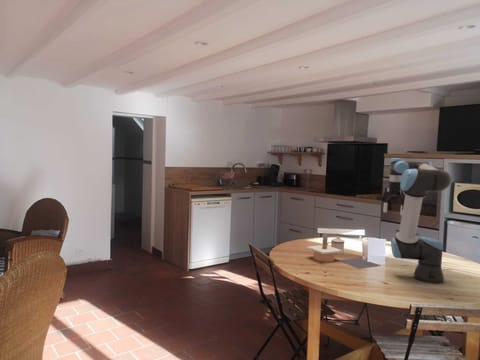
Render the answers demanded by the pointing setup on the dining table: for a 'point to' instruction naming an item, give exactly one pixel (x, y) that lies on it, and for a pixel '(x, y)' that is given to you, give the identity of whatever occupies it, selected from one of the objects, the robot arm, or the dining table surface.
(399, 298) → the dining table surface
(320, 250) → the lid
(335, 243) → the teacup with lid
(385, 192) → the robot arm
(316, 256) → the bowl
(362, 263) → the mat
